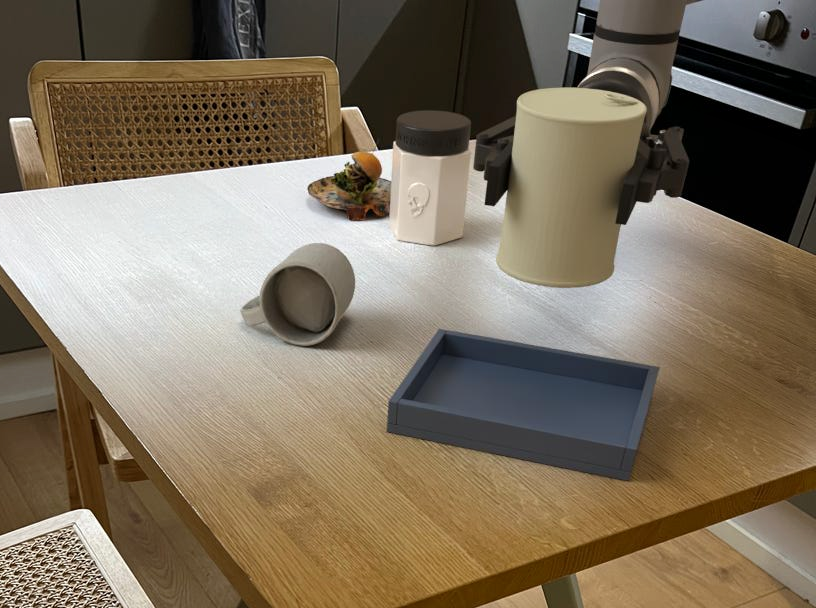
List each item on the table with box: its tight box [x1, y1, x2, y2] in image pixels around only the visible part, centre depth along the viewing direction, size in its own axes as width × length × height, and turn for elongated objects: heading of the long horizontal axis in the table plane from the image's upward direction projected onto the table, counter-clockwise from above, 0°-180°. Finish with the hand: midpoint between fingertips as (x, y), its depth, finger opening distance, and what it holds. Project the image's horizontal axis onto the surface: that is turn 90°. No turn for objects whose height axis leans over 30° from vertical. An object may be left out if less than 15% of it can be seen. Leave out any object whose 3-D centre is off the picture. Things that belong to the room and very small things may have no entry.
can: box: [495, 87, 647, 289], centre depth 72 cm, size 9×9×12 cm
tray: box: [386, 328, 660, 482], centre depth 81 cm, size 20×15×3 cm
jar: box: [388, 110, 472, 247], centre depth 109 cm, size 9×8×12 cm
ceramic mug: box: [239, 242, 356, 347], centre depth 91 cm, size 11×8×8 cm
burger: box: [306, 138, 391, 222], centre depth 118 cm, size 12×12×8 cm
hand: (557, 195), depth 69 cm, fingers closed on can, 9 cm apart
